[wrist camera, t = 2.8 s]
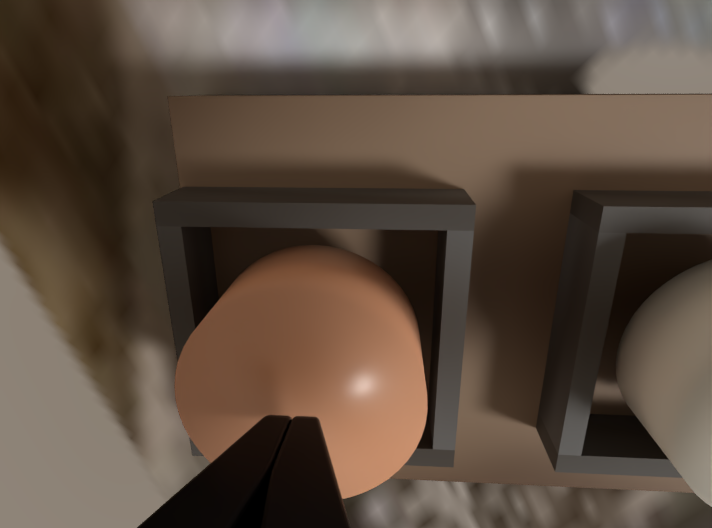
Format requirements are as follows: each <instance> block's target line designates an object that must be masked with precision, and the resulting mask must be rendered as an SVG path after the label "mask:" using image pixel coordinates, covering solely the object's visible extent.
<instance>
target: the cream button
mask: <svg viewBox="0 0 712 528" xmlns="http://www.w3.org/2000/svg"><path fill="white" fill-rule="evenodd" d="M616 377H617V382H618V386H619V389H620V392H621V394H622V396H623V398H624V400H625V402H626V403H627V405H628V406H629V408H630V409H631V410H632V412H633V413H634V414H635V416H636V417H637V418H638V419H639V421H640V422H641V423H642V425H643V426H644V427H645V429H646V430H647V431H648V433H649V434H650V435H651V437H652V438H653V439H654V441H655V442H656V443H657V445H658V446H659V447H660V448H661V450H662V451H663V452H664V454H665V455H666V456H667V458H668V459H669V460H670V462H671V463H672V464H673V466H674V467H675V468H676V470H677V471H678V472H679V474H680V475H681V476H682V477H683V479H684V480H685V481H686V483H687V484H688V485H689V487H690V488H691V489H692V490H693V491H694V493H695V494H696V495H697V496H698V497H700V498H701V499H702V500H703V501H704V502H705V503H707V504H708V505H710V506H711V507H712V260H709V261H706V262H704V263H701V264H699V265H696V266H694V267H692V268H690V269H688V270H686V271H684V272H682V273H680V274H678V275H677V276H675V277H674V278H672V279H670V280H669V281H667V282H666V283H665V284H663V285H662V286H661V287H660V288H658V289H657V290H656V291H655V292H653V293H652V294H651V295H650V296H649V297H648V298H647V299H646V300H645V301H644V302H643V303H642V305H641V306H640V307H639V308H638V310H637V311H636V312H635V313H634V315H633V316H632V318H631V320H630V321H629V323H628V324H627V326H626V328H625V330H624V333H623V335H622V337H621V340H620V343H619V347H618V350H617V357H616Z"/></svg>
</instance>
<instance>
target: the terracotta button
mask: <svg viewBox="0 0 712 528" xmlns="http://www.w3.org/2000/svg"><path fill="white" fill-rule="evenodd" d="M175 397H176V403H177V408H178V412H179V415H180V418H181V420H182V423H183V425H184V428H185V429H186V431H187V433H188V435H189V437H190V438H191V440H192V441H193V443H194V444H195V445H196V447H197V448H198V450H199V451H200V452H201V453H202V454H203V455H204V456H205V457H206V458H207V460H208V461H209V462H210V463H212V462H213V461H214V460H215V459H216V458H217V457H218V456H220V455H221V454H222V453H223V452H224V451H225V450H226V449H228V448H229V447H230V446H231V445H232V444H233V443H234V442H236V441H237V440H238V439H239V438H240V437H241V436H243V435H244V434H245V433H246V432H247V431H248V430H249V429H251V428H252V427H253V426H254V425H255V424H256V423H257V422H259V421H260V420H261V419H262V418H263V417H265V416H267V415H288V416H290V417H291V418H292V419H293V418H294V417H295V416H314V417H317V418H318V419H319V420H320V423H321V427H322V430H323V434H324V437H325V441H326V444H327V447H328V451H329V454H330V458H331V461H332V465H333V468H334V472H335V475H336V479H337V482H338V486H339V489H340V492H341V496H342V499H344V498H349V497H352V496H355V495H358V494H361V493H364V492H366V491H368V490H370V489H372V488H374V487H376V486H378V485H380V484H381V483H383V482H384V481H386V480H388V479H389V478H390V477H391V476H393V475H394V474H395V473H396V472H397V471H399V470H400V469H401V467H402V466H403V465H404V464H405V463H406V462H407V461H408V460H409V458H410V457H411V455H412V454H413V452H414V451H415V449H416V448H417V445H418V443H419V441H420V439H421V437H422V434H423V431H424V428H425V424H426V418H427V411H428V407H427V390H426V382H425V374H424V366H423V358H422V350H421V342H420V334H419V328H418V322H417V318H416V315H415V312H414V309H413V307H412V305H411V303H410V301H409V299H408V297H407V296H406V294H405V293H404V291H403V290H402V288H401V287H400V286H399V285H398V284H397V282H396V281H395V280H394V279H393V278H392V277H391V276H390V275H389V274H388V273H386V272H385V271H384V270H383V269H382V268H381V267H379V266H378V265H376V264H374V263H373V262H371V261H370V260H368V259H366V258H364V257H362V256H360V255H358V254H356V253H353V252H350V251H347V250H344V249H340V248H335V247H330V246H321V245H302V246H295V247H289V248H285V249H282V250H278V251H275V252H272V253H270V254H268V255H266V256H264V257H262V258H260V259H259V260H257V261H255V262H254V263H252V264H251V265H250V266H248V267H247V268H246V269H245V270H244V271H243V272H242V273H241V274H240V275H239V276H238V277H237V278H236V279H235V281H234V282H233V283H232V284H231V286H230V287H229V288H228V289H227V290H226V292H225V293H224V294H223V295H222V297H221V298H220V299H219V300H218V302H217V303H216V304H215V305H214V307H213V308H212V309H211V310H210V311H209V313H208V314H207V315H206V316H205V318H204V319H203V320H202V321H201V323H200V324H199V325H198V326H197V328H196V329H195V330H194V331H193V332H192V334H191V335H190V337H189V339H188V340H187V342H186V344H185V345H184V347H183V350H182V352H181V355H180V357H179V360H178V364H177V369H176V373H175Z"/></svg>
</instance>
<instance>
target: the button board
mask: <svg viewBox="0 0 712 528" xmlns="http://www.w3.org/2000/svg"><path fill="white" fill-rule="evenodd" d="M168 104H169V111H170V119H171V126H172V133H173V141H174V148H175V156H176V163H177V171H178V178H179V185H180V189H178V190H176V191H173V192H171V193H169V194H167V195H165V196H163V197H161V198H159V199H156V200H154V201H153V208H154V214H155V221H156V227H157V233H158V240H159V246H160V252H161V259H162V265H163V272H164V278H165V284H166V291H167V297H168V303H169V310H170V316H171V323H172V329H173V335H174V342H175V348H176V355H177V361H178V360H179V357H180V355H181V352H182V350H183V347H184V345H185V344H186V342H187V340H188V339H189V337H190V335H191V334H192V332H193V331H194V330H195V329H196V328H197V326H198V325H199V324H200V323H201V321H202V320H203V319H204V318H205V316H206V315H207V314H208V313H209V311H210V310H211V309H212V308H213V307H214V305H215V304H216V303H217V302H218V300H219V299H220V298H221V297H222V295H223V294H224V293H225V292H226V290H227V289H228V288H229V287H230V286H231V284H232V283H233V282H234V281H235V279H236V278H237V277H238V276H239V275H240V274H241V273H242V272H243V271H244V270H245V269H246V268H247V267H248V266H250V265H251V264H252V263H254V262H255V261H257V260H259V259H260V258H262V257H264V256H266V255H268V254H270V253H272V252H275V251H278V250H282V249H285V248H289V247H295V246H302V245H321V246H330V247H335V248H340V249H344V250H347V251H350V252H353V253H356V254H358V255H360V256H362V257H364V258H366V259H368V260H370V261H371V262H373V263H374V264H376V265H378V266H379V267H381V268H382V269H383V270H384V271H385V272H386V273H388V274H389V275H390V276H391V277H392V278H393V279H394V280H395V281H396V282H397V284H398V285H399V286H400V287H401V288H402V290H403V291H404V293H405V294H406V296H407V297H408V299H409V301H410V303H411V305H412V307H413V309H414V312H415V315H416V318H417V322H418V328H419V334H420V342H421V350H422V358H423V366H424V374H425V382H426V390H427V407H428V411H427V418H426V424H425V428H424V431H423V434H422V437H421V439H420V441H419V443H418V445H417V448H416V449H415V451H414V452H413V454H412V455H411V457H410V458H409V460H408V461H407V462H406V463H405V464H404V465H403V466H402V467H401V469H400V470H399V471H397V472H396V473H395V474H394V475H393V476H391V477H390V478H393V479H414V480H435V481H456V482H477V483H498V484H519V485H540V486H561V487H582V488H604V489H625V490H646V491H667V492H688V493H694V491H693V490H692V489H691V488H690V487H689V485H688V484H687V483H686V481H685V480H684V479H683V477H682V476H681V475H680V474H679V472H678V471H677V470H676V468H675V467H674V466H673V464H672V463H671V462H670V460H669V459H668V458H667V456H666V455H665V454H664V452H663V451H662V450H661V448H660V447H659V446H658V445H657V443H656V442H655V441H654V439H653V438H652V437H651V435H650V434H649V433H648V431H647V430H646V429H645V427H644V426H643V425H642V423H641V422H640V421H639V419H638V418H637V417H636V416H635V414H634V413H633V412H632V410H631V409H630V408H629V406H628V405H627V403H626V402H625V400H624V398H623V396H622V394H621V392H620V389H619V386H618V382H617V377H616V357H617V350H618V347H619V343H620V340H621V337H622V335H623V333H624V330H625V328H626V326H627V324H628V323H629V321H630V320H631V318H632V316H633V315H634V313H635V312H636V311H637V310H638V308H639V307H640V306H641V305H642V303H643V302H644V301H645V300H646V299H647V298H648V297H649V296H650V295H651V294H652V293H653V292H655V291H656V290H657V289H658V288H660V287H661V286H662V285H663V284H665V283H666V282H667V281H669V280H670V279H672V278H674V277H675V276H677V275H678V274H680V273H682V272H684V271H686V270H688V269H690V268H692V267H694V266H696V265H699V264H701V263H704V262H706V261H709V260H712V94H490V95H202V96H168ZM190 444H191V450H192V456H204V455H203V454H202V453H201V452H200V451H199V450H198V448H197V447H196V445H195V444H194V443H193V441H192V440H191V438H190Z"/></svg>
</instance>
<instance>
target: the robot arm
mask: <svg viewBox="0 0 712 528" xmlns="http://www.w3.org/2000/svg"><path fill="white" fill-rule="evenodd" d="M137 528H351V527H350V524H349V520H348V517H347V513H346V510H345V506H344V503H343V499H342V496H341V492H340V489H339V486H338V482H337V479H336V475H335V472H334V468H333V465H332V461H331V458H330V454H329V451H328V447H327V444H326V441H325V437H324V434H323V430H322V427H321V423H320V420H319V419H318V418H317V417H314V416H295V417H294V418H293V419H292V418H291V417H290V416H288V415H267V416H265V417H263V418H262V419H261V420H260V421H259V422H257V423H256V424H255V425H254V426H253V427H252V428H251V429H249V430H248V431H247V432H246V433H245V434H244V435H243V436H241V437H240V438H239V439H238V440H237V441H236V442H234V443H233V444H232V445H231V446H230V447H229V448H228V449H226V450H225V451H224V452H223V453H222V454H221V455H220V456H218V457H217V458H216V459H215V460H214V461H213V462H212V463H210V464H209V465H208V466H207V467H206V468H205V469H204V470H202V471H201V472H200V473H199V474H198V475H197V476H196V477H194V478H193V479H192V480H191V481H190V482H189V483H188V484H186V485H185V486H184V487H183V488H182V489H181V490H180V491H178V492H177V493H176V494H175V495H174V496H173V497H171V498H170V499H169V500H168V501H167V502H166V503H165V504H163V505H162V506H161V507H160V508H159V509H158V510H157V511H155V513H153V514H152V515H151V516H150V517H149V518H147V519H146V520H145V521H144V522H143V523H142V524H141V525H139V526H138V527H137Z"/></svg>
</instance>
